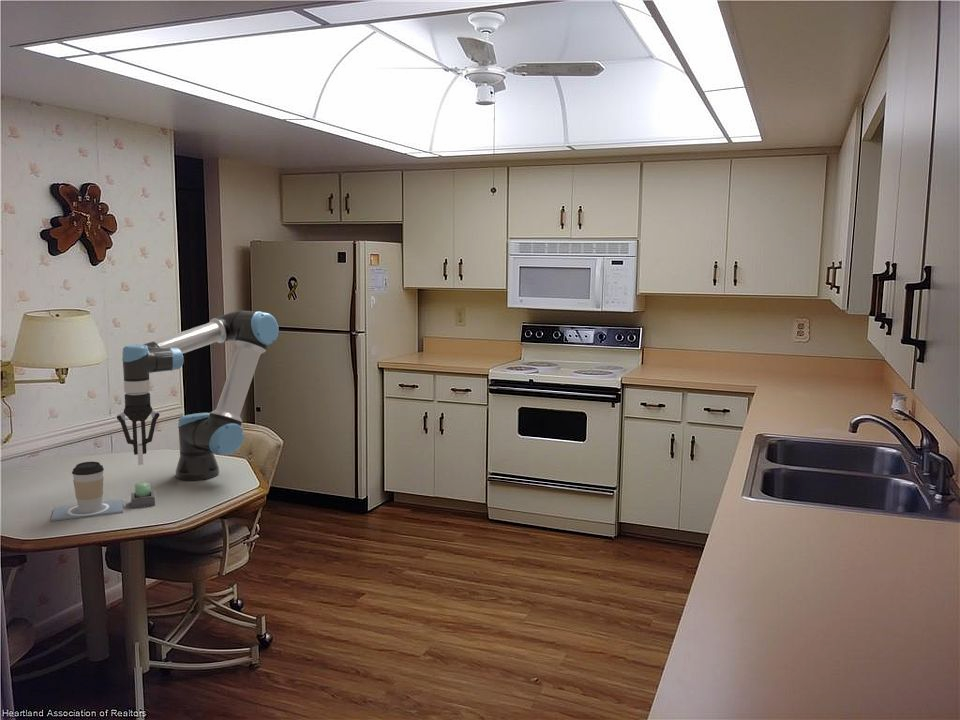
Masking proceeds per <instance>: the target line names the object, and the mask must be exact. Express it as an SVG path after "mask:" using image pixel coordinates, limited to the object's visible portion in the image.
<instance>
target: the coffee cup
mask: <svg viewBox="0 0 960 720" xmlns="http://www.w3.org/2000/svg"><path fill="white" fill-rule="evenodd" d="M104 470H105V469H104V466H103V465H102V464H101V463H100V461H99V462H97V461H84V462H81V463H78V464H76V465H75V467H74V468H72V471H71V475H72V478H73V481H72V482H73V487H74V488H73V489H74V493H75V498H76V503H77V504H76V505H78V510H79V511H80V512H94V511H97V510H100V509H101V508H102V502H103V495H104Z"/></svg>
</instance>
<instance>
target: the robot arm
mask: <svg viewBox="0 0 960 720" xmlns="http://www.w3.org/2000/svg"><path fill="white" fill-rule="evenodd" d="M279 331H280V330H279V324H278V322H277V319H276V318H275V317H274V315H272V314H271V313H268V312H264V311H254V310H253V311H252V310H236V311H232V312H231V311H230V312H229V313H226V314H223V315H220V316H217V317H214V318H211V319H209V322H207V323H205V324H201V325H198V326H194V327H192V328H190V329H187V330H183V331H181V332H177V333H174V334H172V335H168V336H165V337H163V338H159V339H156V340H154V341H150V342H147V343H143V344H128V345H125V346H124V347H123V348H122V358H121V361H122V368H123V369H122V370H123V371H122V372H123V388H124V390H123V391H124V393H125V394H124V409H123V411H122V412H121V413H120V414H117V415H116V420H118V422H119V423H120V425H121V427H122V431H123V435H124V437H125V441H126V443H127V445H128V444H129V445H132V446H133V455H134V456H135V455H137V463H138V464H137V465H138V466H143V465H144V456H143V455H145V454H147V452H148V451H147V444H149V443H152V442H153V437H154V433H155V429H156V424H157V420H158V419H159V418H160V412H159V411H156V410H154V409H153V407H152V406H151V393H150V391H151V390H150V388H151V387H150V385H151V384H150V374H153V373H159V372H169V371H170V372H172V371H174V370H179V369H181V368H182V367H183V365H184V355H183V354H186V353H189V352H192V351H194V350H197V349H200V348H203V347H206V346H209V345H211V344H215V343H218V344H223V343H225V342H230V341H231V342H232V341H233V342H234V343H235V345H236V351H235V353H234V355H233V356H234V357H233V359H232V362H231V365H230V367H229V371H228V373H227V377H226V378H225V379H226V380H225V383H224V385H223V388H222V391H221V393H220V397H219V400H218V401H217V402H218V403H217V406H216V408H215V410H212V411H210V412H198V413H192V414H186V415H183V416H181V417H180V418H179V419H178V425H177V428H178V443H179V459H178V462H177V466H176V469H175V478H176V479H178V480H182V481H203V480H207V479H212V478H214V477H217V476H218V475H219V473H220V467H219V464H218V461H217V459H216V456H215V454H216V455H219V456H221V455H222V456H228V455H232V454H233V453H235V452H236V451H238V450H239V448H240V447H241V446H242V444H243V442H244V439H245V438H244V437H245V434H244V430H243V428H242V424H243V420H242V418H241V413H242V410H243V407H244V405H245V401H246V398H247V396H248V392H249V389H250V386H251V383H252V381H253V378H254V374H255V372H256V369H257V366H258V363H259V359H260V357H261V355H262V354H264V353H266V352H267V349H268V346H269V345H271V344H273V343H275V342H276V340H277V339H278V336H279ZM150 415H151V423H150V427H149V430H148V431H149V432H148V436H147V434H146V421H147V419H148V418H149V416H150ZM126 417H127V419H129V421H131V422H132V438H131V436H130V432H129V429H128V427H127V426H128V425H127V424H126V421H125V419H126ZM137 422H140V428H141V431H140V433H141V443H138V432H137V431H138V429H137V428H138V426H137Z"/></svg>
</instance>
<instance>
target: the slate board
mask: <svg viewBox="0 0 960 720" xmlns="http://www.w3.org/2000/svg"><path fill="white" fill-rule="evenodd" d="M123 513H124V499H118V500H117V499H116V500H109V501H108V500H107V501H102V508H101V509H100V510H97V511H94V512H80V511H79V510H78V504H73V505H72V504H71V505H64V506H56V507H54V508H53V512H52V515H51V518H50V522H57V521H65V520H74V519H81V518H82V519H83V518H91V517H100V516H108V515H114V514H123Z"/></svg>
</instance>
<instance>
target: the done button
mask: <svg viewBox="0 0 960 720" xmlns="http://www.w3.org/2000/svg"><path fill="white" fill-rule="evenodd" d="M150 491H151V485H150V482H147V481H142V482H138V483H136V484H134V493H135V496H136V498H139V497H148V496H150Z"/></svg>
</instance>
